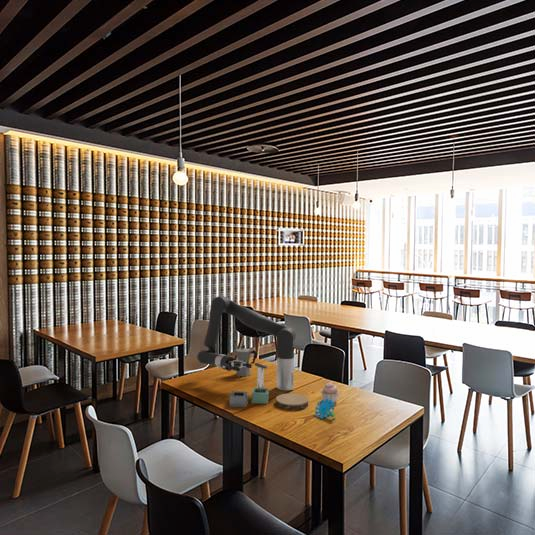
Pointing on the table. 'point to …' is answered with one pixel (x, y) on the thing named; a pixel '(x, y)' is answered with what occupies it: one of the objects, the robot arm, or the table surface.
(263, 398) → the key holder
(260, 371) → the chuck key
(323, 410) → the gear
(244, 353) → the coffeepot
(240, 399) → the chuck block
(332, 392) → the cupcake
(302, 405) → the wood slice
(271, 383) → the table surface
